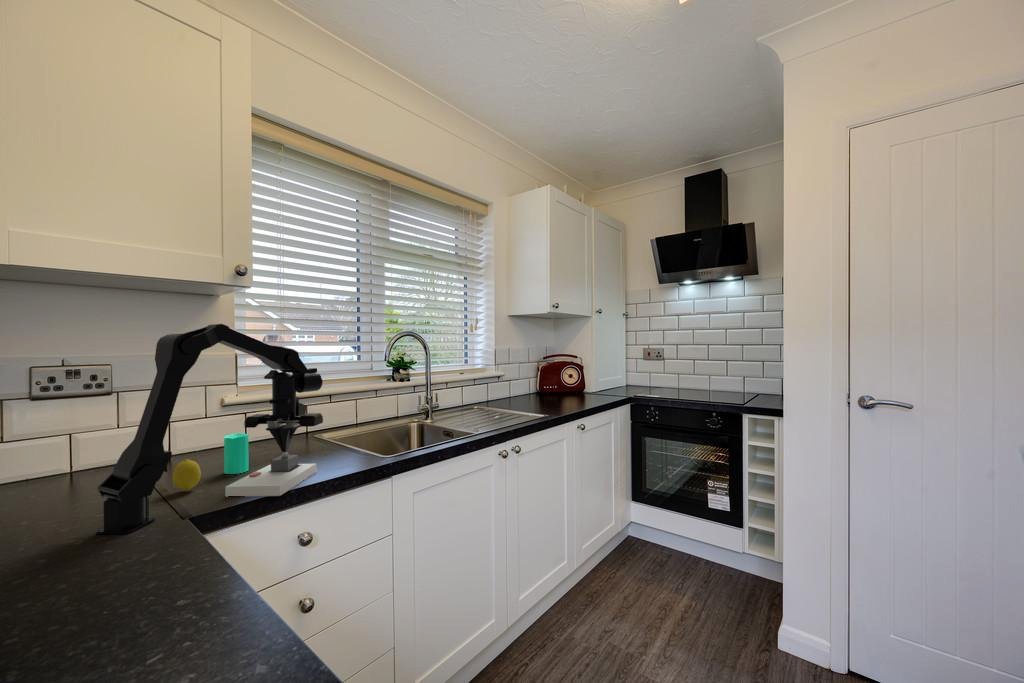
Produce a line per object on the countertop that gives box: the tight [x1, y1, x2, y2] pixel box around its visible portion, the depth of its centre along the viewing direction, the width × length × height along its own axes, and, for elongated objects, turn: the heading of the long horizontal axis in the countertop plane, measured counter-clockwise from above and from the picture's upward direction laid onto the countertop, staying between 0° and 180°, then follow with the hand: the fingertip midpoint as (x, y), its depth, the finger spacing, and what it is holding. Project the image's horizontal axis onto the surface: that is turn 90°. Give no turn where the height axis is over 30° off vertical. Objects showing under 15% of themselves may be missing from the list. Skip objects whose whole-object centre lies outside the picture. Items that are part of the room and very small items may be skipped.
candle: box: [223, 430, 250, 474], centre depth 121 cm, size 6×6×12 cm
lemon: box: [172, 458, 202, 492], centre depth 104 cm, size 6×6×8 cm
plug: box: [270, 451, 299, 473], centre depth 115 cm, size 6×4×6 cm
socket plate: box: [224, 463, 318, 498], centre depth 110 cm, size 19×13×3 cm
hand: (284, 451), depth 115 cm, fingers closed
